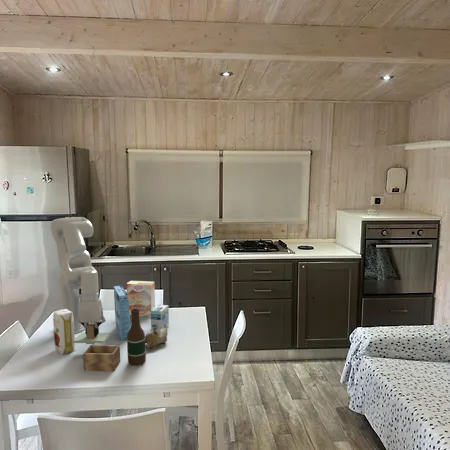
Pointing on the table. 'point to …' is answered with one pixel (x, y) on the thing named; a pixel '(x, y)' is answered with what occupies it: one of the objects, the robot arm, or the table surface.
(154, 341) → the ceramic sculpture
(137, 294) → the coffeecake box
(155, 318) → the light bulb box
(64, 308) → the robot arm
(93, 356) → the crate
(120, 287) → the gum box
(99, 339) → the lid
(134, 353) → the beer bottle
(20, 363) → the table surface
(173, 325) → the table surface
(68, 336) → the juice carton
